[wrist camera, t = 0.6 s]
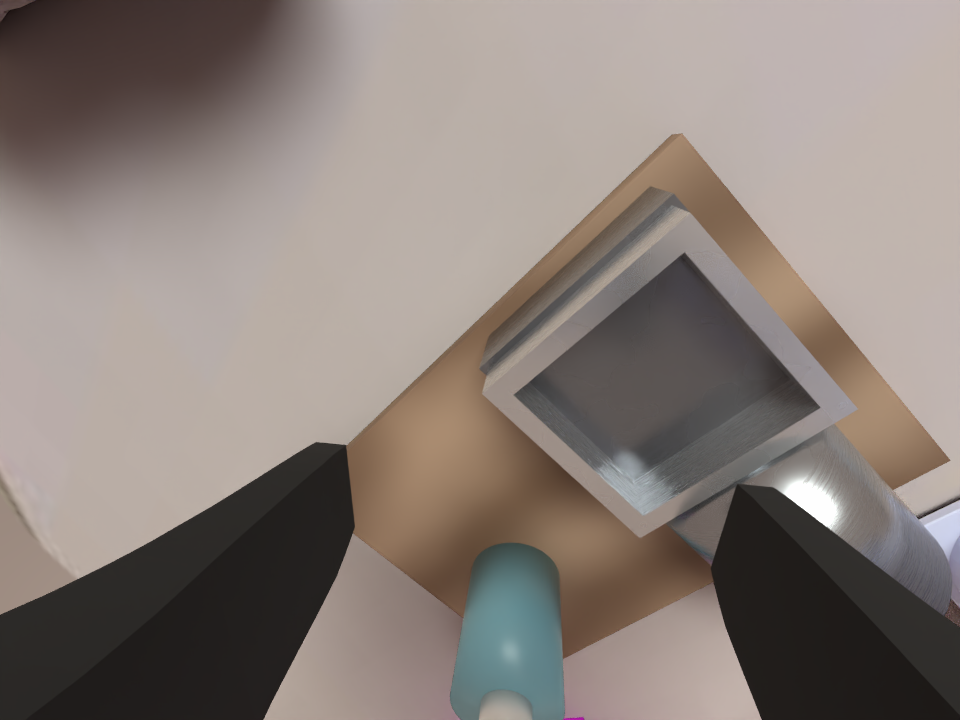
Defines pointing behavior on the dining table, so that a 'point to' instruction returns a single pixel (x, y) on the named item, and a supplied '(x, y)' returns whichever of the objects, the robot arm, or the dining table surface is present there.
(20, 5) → the food item
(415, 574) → the mounting board
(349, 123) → the dining table surface
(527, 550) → the blue bottle white cap
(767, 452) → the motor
